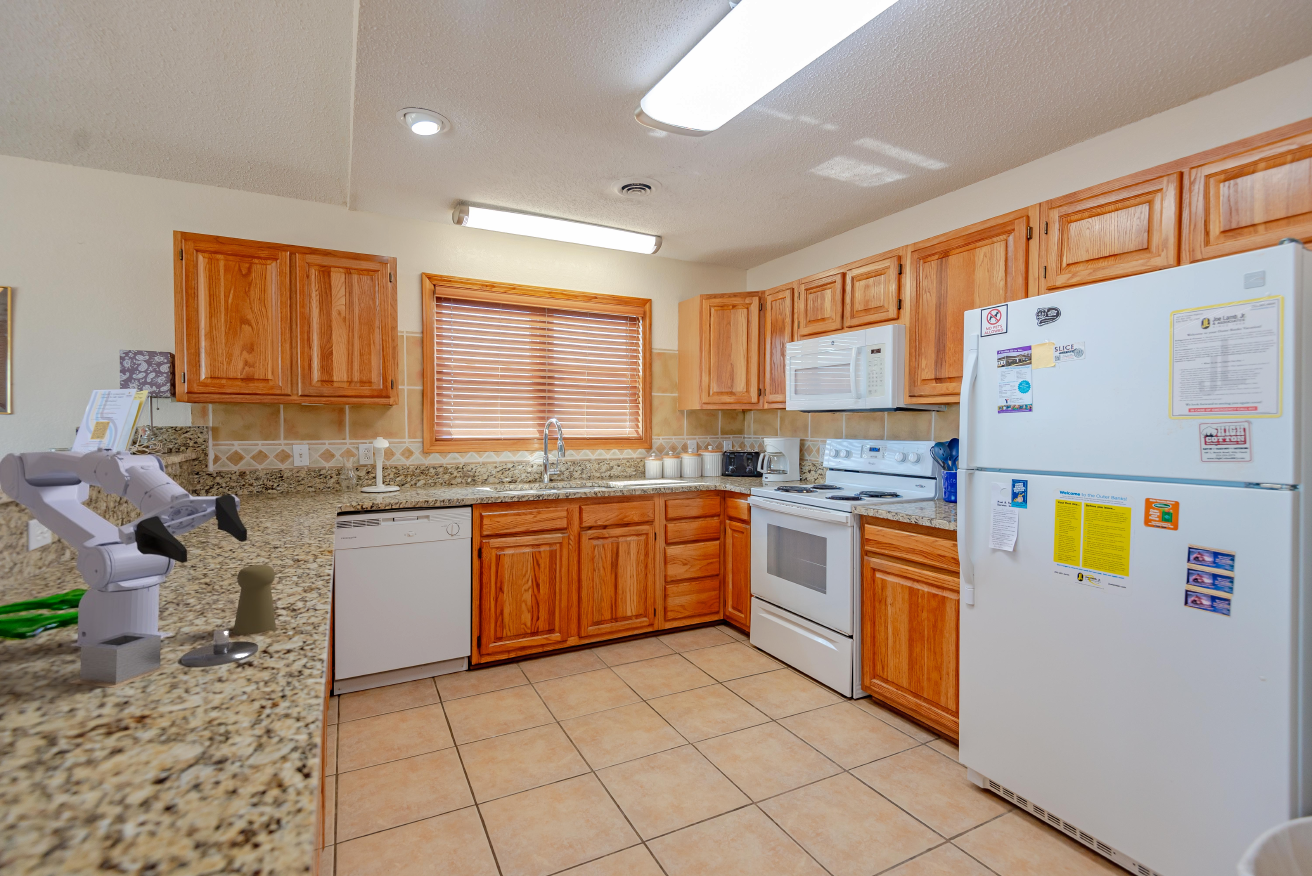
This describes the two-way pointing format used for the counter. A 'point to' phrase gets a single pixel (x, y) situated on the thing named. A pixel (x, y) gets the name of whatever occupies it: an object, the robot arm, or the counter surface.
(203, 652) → the hub
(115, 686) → the stand
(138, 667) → the square metal tube
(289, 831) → the counter surface
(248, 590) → the cork
